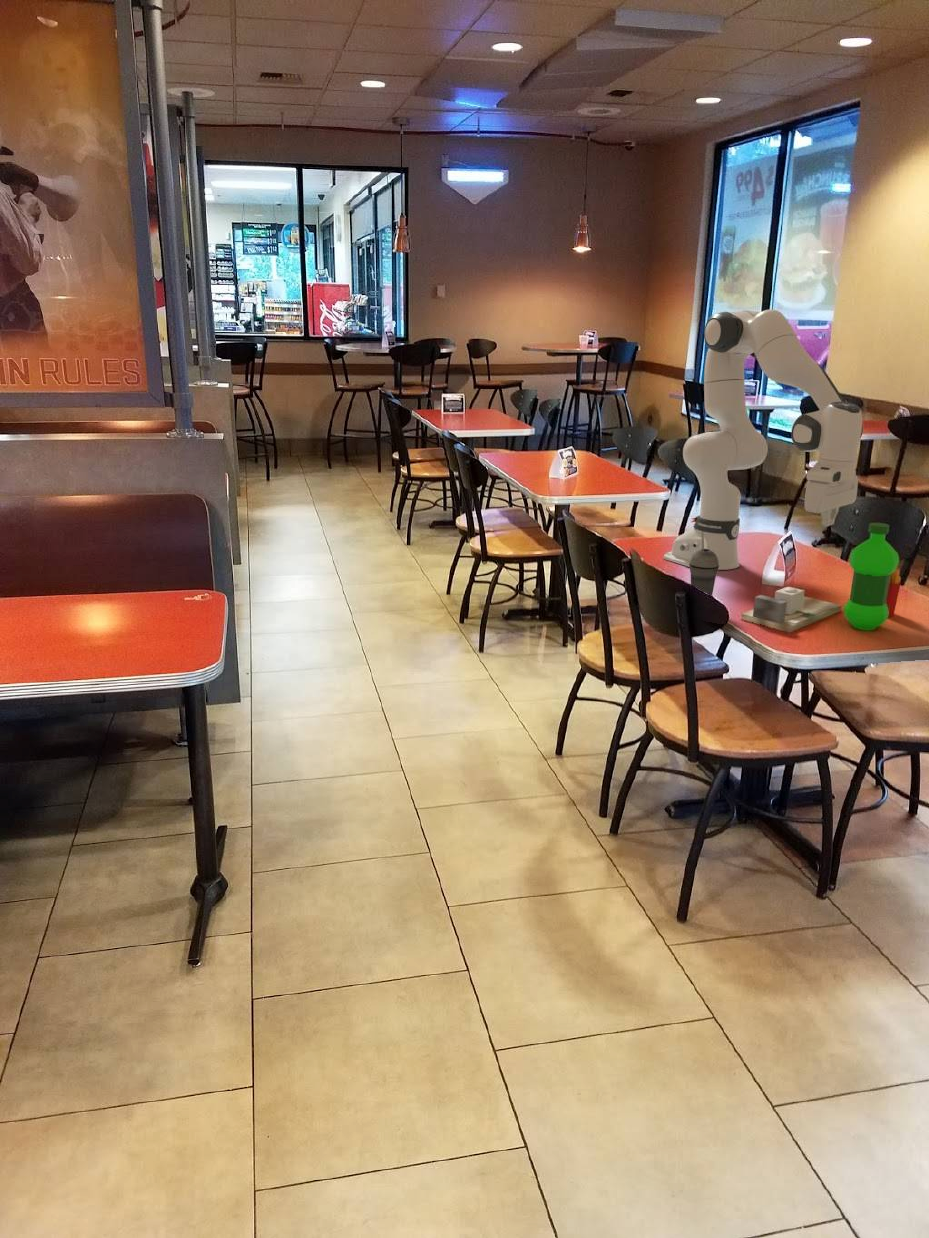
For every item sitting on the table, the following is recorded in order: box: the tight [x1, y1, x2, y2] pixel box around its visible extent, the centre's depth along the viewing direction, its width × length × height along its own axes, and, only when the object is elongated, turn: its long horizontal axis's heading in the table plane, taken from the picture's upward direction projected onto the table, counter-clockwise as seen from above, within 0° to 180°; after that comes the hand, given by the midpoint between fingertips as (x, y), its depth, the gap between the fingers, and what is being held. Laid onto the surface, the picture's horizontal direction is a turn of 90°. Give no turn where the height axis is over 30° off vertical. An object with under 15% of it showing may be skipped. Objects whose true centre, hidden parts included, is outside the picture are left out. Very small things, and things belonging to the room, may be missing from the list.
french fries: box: [886, 569, 902, 618], centre depth 228 cm, size 8×4×12 cm, turn 8°
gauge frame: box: [741, 594, 843, 634], centre depth 227 cm, size 13×25×6 cm, turn 132°
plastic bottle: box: [843, 522, 900, 631], centre depth 216 cm, size 10×10×25 cm
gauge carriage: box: [774, 586, 811, 615], centre depth 223 cm, size 8×9×5 cm
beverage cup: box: [689, 531, 719, 596], centre depth 229 cm, size 7×7×20 cm
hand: (827, 525), depth 230 cm, fingers closed
